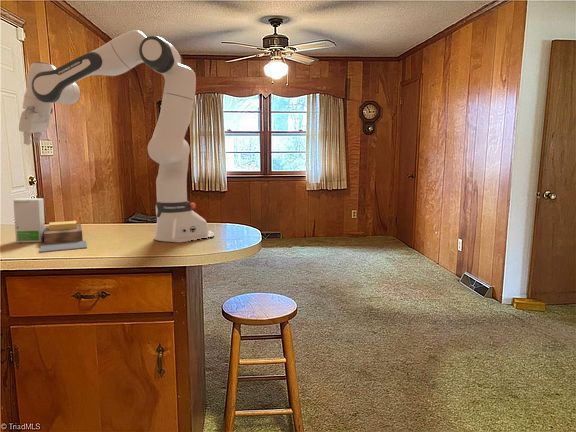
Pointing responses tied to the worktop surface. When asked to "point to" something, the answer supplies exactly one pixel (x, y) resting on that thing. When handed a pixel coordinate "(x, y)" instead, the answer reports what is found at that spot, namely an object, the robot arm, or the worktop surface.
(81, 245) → the mat
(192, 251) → the worktop surface
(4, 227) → the worktop surface
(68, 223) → the yellow rectangular block
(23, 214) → the skincare box
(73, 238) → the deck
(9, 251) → the worktop surface
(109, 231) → the worktop surface
